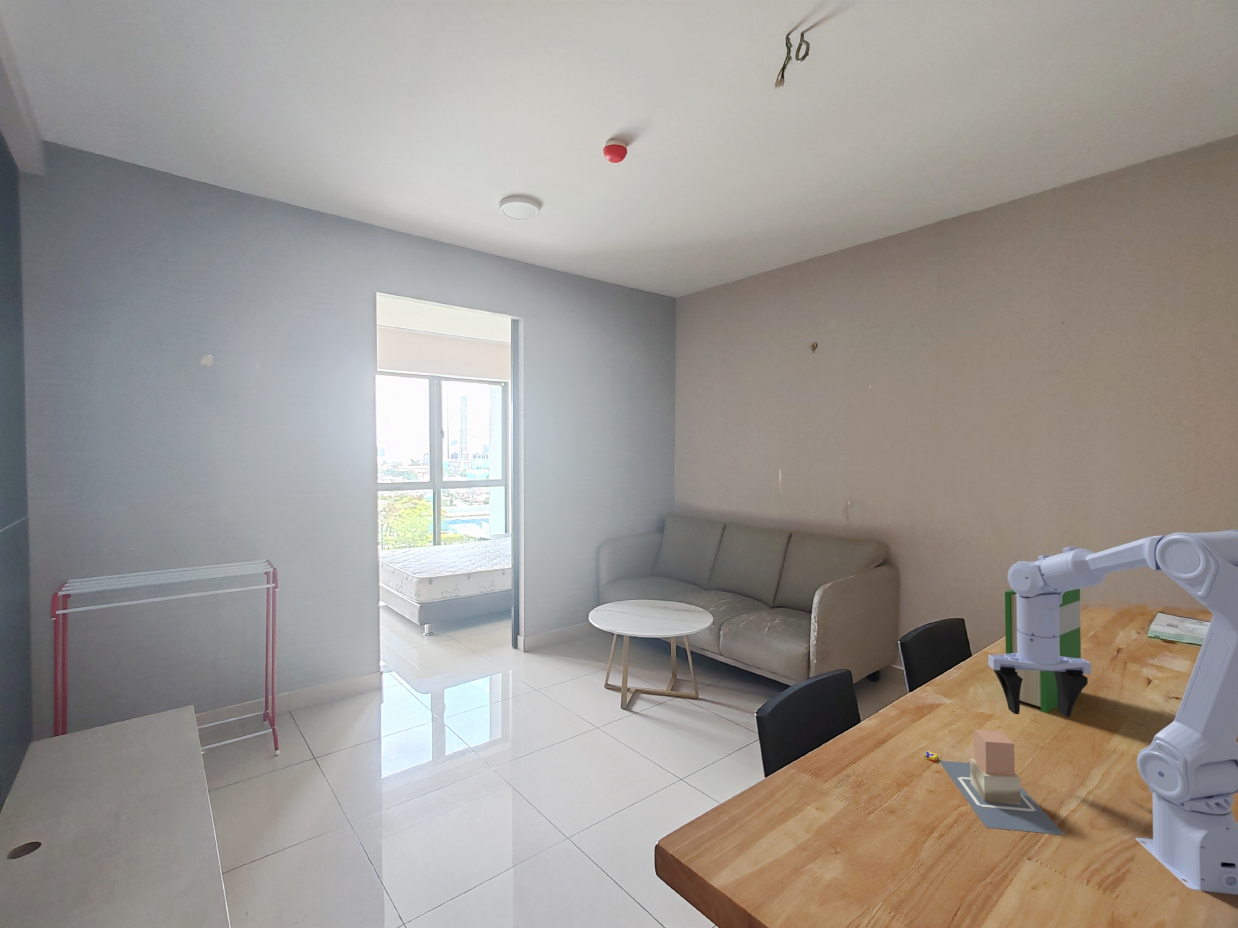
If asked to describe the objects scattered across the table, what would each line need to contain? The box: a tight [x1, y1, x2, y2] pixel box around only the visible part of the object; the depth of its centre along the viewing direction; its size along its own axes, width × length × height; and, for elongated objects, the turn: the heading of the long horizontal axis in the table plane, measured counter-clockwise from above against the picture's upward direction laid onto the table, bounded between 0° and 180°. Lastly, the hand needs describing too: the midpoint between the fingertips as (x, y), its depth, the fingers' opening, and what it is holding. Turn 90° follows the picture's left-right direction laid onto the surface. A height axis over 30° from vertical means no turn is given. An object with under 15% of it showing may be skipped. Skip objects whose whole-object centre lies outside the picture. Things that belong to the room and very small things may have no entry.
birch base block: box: [969, 758, 1022, 805], centre depth 88 cm, size 5×5×4 cm
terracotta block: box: [973, 729, 1016, 776], centre depth 88 cm, size 4×4×5 cm
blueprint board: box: [938, 760, 1066, 836], centre depth 88 cm, size 18×10×1 cm, turn 169°
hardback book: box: [1004, 588, 1082, 714], centre depth 124 cm, size 18×7×24 cm, turn 122°
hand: (1038, 712), depth 94 cm, fingers open, 7 cm apart
